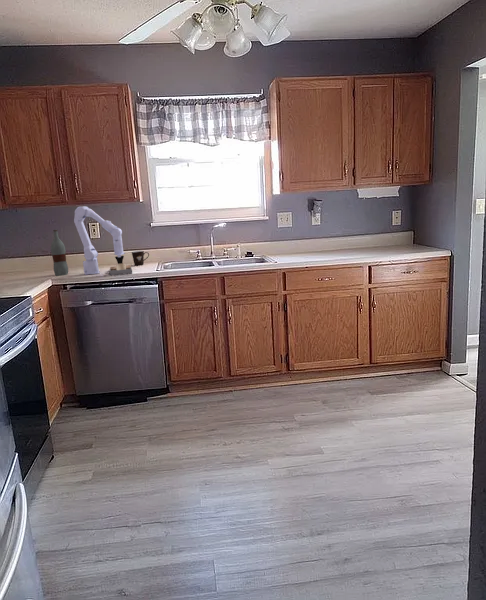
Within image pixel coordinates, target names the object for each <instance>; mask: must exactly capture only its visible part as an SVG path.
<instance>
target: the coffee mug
mask: <svg viewBox="0 0 486 600" xmlns="http://www.w3.org/2000/svg"><path fill="white" fill-rule="evenodd" d="M145 254H147V255H148V256H146V258H144V256H145ZM131 256H132V260H133V265H134V266H135V267H137V266H144V261H147V259H148V258H149V256H150V254H149V252H147V251H145V252H144V250H132V251H131Z"/></svg>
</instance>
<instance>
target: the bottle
mask: <svg viewBox="0 0 486 600" xmlns="http://www.w3.org/2000/svg"><path fill="white" fill-rule="evenodd" d="M53 236H54V237H53V240H52V242H51V244H50V253H51V257H52V261H53V272H54V275H55V276H56V277H58V276H60V277H61V276H66V275H69V266H68V263H67V256H66V255H67V254H66V252H67V251H66V246H65V243H64V242H63V241H62V240H61V239H60V238H59V232H58V229H53Z"/></svg>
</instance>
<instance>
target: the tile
mask: <svg viewBox="0 0 486 600" xmlns="http://www.w3.org/2000/svg"><path fill="white" fill-rule="evenodd" d="M115 266H116V269H117V270H124V269H126V266H127V264H126V262H123V263H121V264H118V263H116V264H115Z"/></svg>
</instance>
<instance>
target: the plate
mask: <svg viewBox="0 0 486 600" xmlns="http://www.w3.org/2000/svg"><path fill="white" fill-rule="evenodd" d="M131 267H132V264H129V265H127V264H126V269H131ZM110 269H111V271H113V270H117V269H116V265H114V266H110V267H109V270H110Z"/></svg>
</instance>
